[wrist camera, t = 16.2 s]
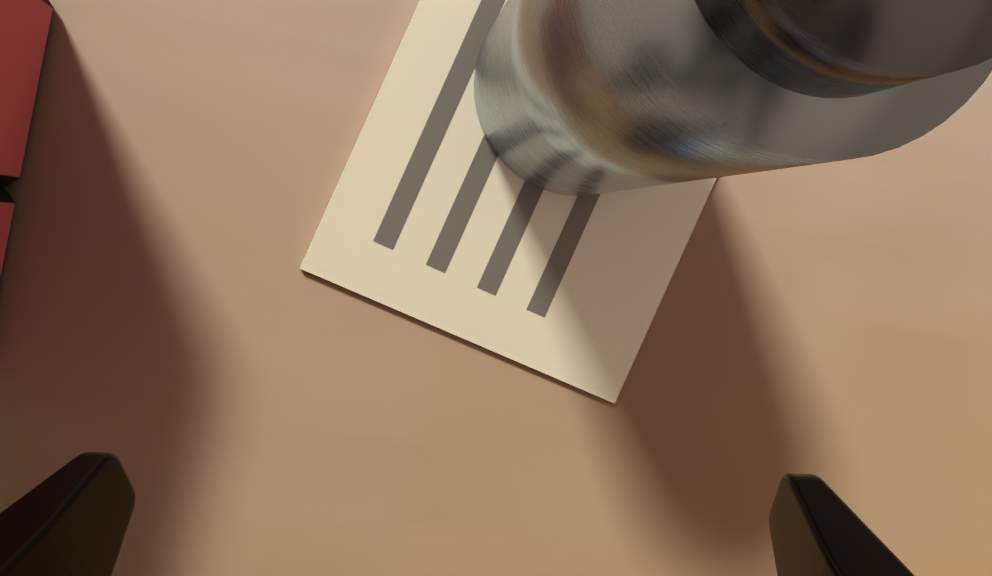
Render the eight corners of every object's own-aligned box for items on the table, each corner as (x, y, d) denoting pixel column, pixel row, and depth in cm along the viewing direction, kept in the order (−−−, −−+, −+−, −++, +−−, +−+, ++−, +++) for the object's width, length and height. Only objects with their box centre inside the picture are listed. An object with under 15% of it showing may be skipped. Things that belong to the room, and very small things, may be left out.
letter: (612, 402, 22) (614, 403, 21) (300, 268, 20) (299, 268, 19) (788, 10, 22) (793, 8, 21) (493, -164, 20) (494, -168, 19)
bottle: (624, 229, 21) (1020, 236, 8) (438, 139, 20) (568, -15, 7) (707, 43, 21) (1236, -238, 8) (527, -58, 20) (818, -571, 7)
